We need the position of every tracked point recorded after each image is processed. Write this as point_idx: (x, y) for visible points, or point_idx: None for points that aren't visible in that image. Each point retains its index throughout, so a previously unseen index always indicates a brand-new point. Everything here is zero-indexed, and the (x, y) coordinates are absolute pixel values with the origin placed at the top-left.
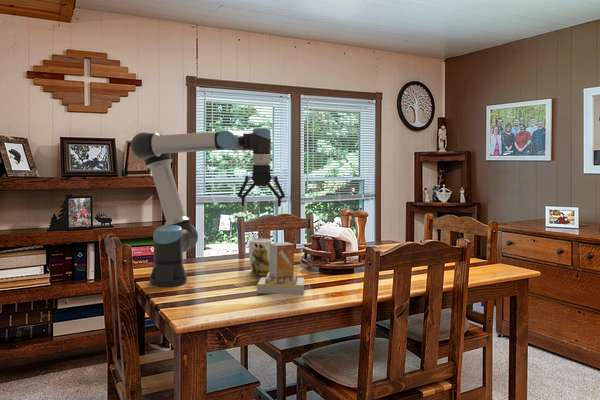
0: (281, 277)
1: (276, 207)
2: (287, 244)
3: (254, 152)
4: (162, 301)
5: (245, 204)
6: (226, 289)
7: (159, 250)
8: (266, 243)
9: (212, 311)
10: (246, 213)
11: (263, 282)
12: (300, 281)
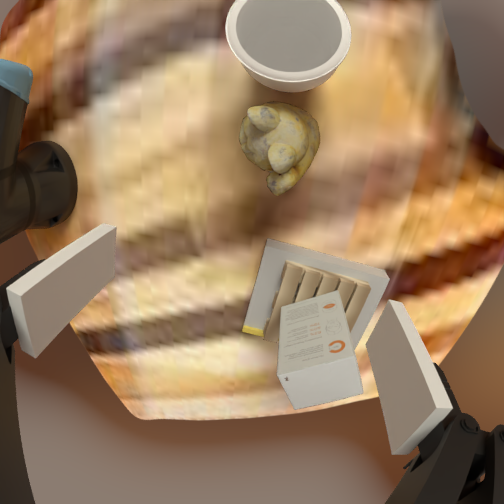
0: None
1: (381, 389)
2: (337, 396)
3: None
4: (76, 322)
5: (65, 319)
6: (172, 271)
7: None
8: (316, 78)
9: (163, 389)
10: (115, 244)
11: (263, 304)
12: (365, 311)
